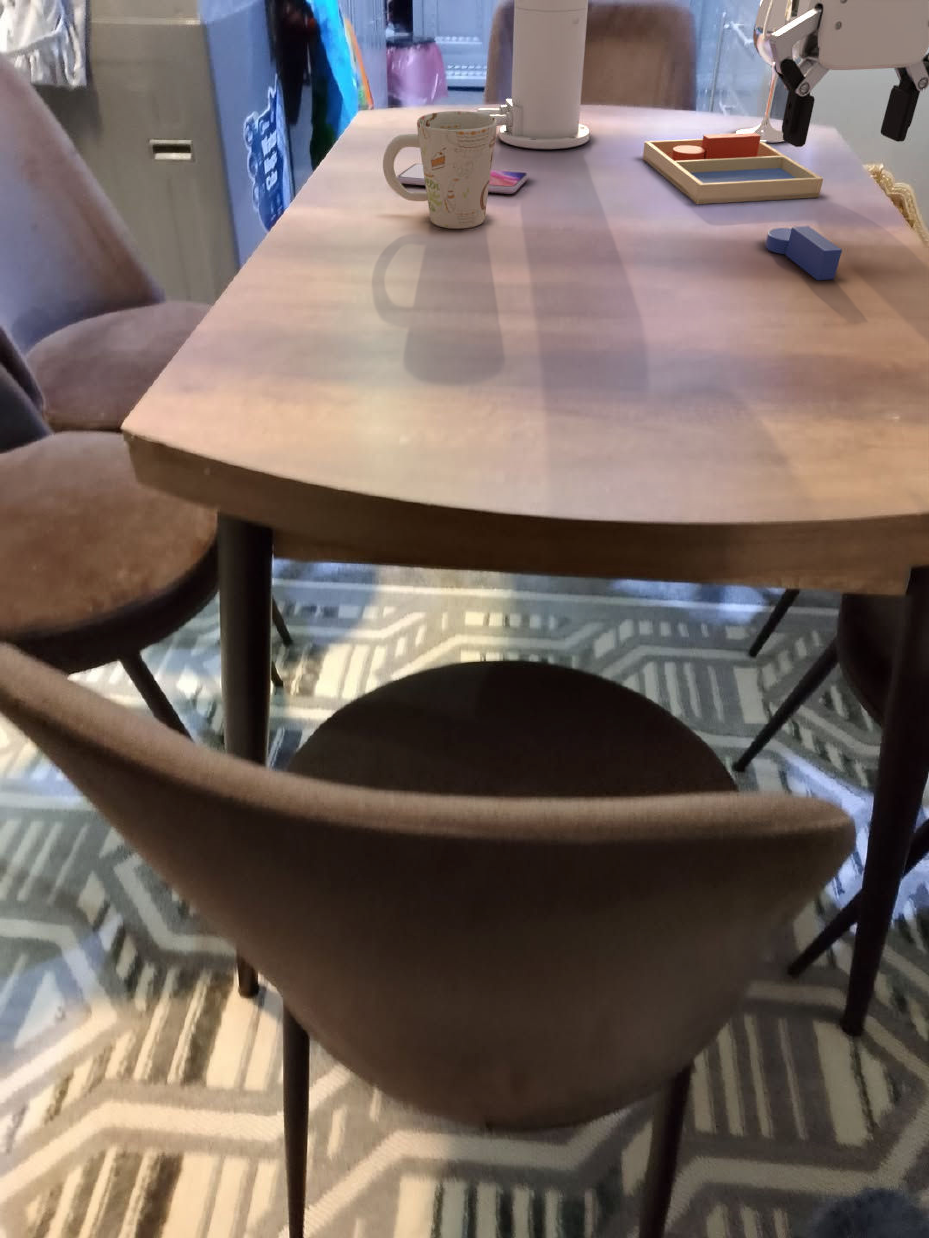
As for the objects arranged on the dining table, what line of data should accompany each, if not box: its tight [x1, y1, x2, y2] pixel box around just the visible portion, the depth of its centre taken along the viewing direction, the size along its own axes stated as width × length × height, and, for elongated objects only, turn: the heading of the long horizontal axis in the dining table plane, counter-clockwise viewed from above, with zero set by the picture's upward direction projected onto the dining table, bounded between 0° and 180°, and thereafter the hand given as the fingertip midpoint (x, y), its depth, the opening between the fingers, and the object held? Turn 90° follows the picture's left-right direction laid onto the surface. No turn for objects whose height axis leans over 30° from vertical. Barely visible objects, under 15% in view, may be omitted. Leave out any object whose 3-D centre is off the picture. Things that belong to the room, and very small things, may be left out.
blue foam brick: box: [764, 225, 843, 281], centre depth 91 cm, size 11×4×3 cm, turn 10°
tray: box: [642, 138, 824, 205], centre depth 113 cm, size 15×20×2 cm
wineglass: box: [735, 0, 809, 144], centre depth 122 cm, size 8×8×20 cm
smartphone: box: [396, 163, 529, 195], centre depth 111 cm, size 7×1×15 cm
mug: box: [382, 110, 498, 230], centre depth 98 cm, size 8×13×10 cm, turn 78°
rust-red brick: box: [672, 132, 761, 161], centre depth 116 cm, size 11×4×3 cm, turn 100°
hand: (842, 140), depth 83 cm, fingers open, 9 cm apart
